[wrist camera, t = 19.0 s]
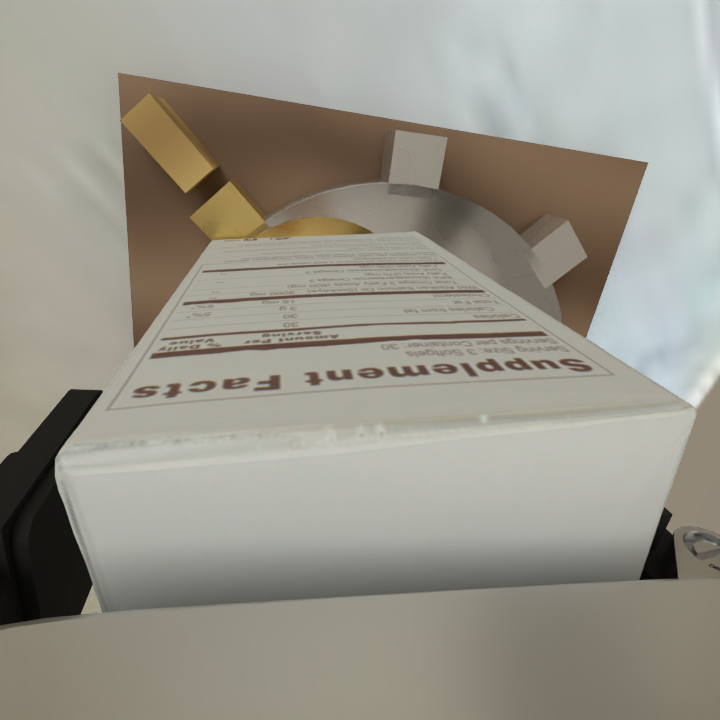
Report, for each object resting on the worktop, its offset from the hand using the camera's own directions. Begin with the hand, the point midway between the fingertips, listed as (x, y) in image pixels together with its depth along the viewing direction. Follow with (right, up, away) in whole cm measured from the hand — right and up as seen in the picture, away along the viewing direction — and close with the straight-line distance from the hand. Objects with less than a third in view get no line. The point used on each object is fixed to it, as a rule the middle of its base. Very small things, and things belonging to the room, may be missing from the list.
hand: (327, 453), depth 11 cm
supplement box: (-1, +3, +7) cm, 8 cm away
